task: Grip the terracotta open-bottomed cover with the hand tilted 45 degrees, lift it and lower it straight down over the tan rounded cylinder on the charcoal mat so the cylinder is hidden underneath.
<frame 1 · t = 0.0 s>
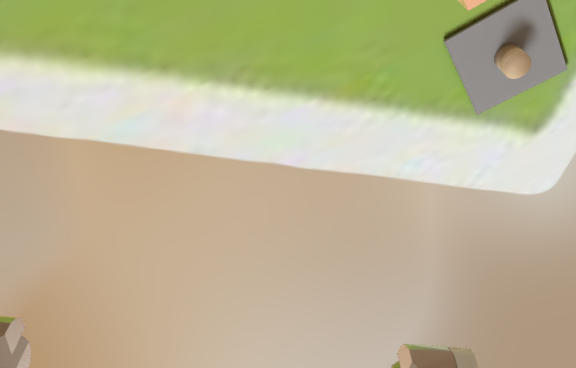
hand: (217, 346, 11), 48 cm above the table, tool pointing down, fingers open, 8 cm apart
mat: (505, 54, 57), on the table
tan rounded cylinder: (507, 55, 56), resting on mat
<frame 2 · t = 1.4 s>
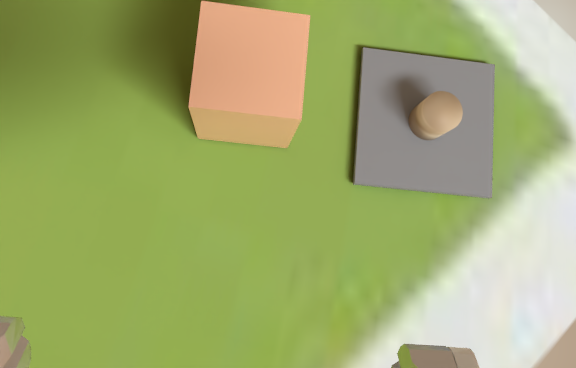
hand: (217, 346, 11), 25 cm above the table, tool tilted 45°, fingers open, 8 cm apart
mat: (424, 123, 39), on the table
tan rounded cylinder: (427, 121, 39), resting on mat
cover: (247, 100, 38), on the table
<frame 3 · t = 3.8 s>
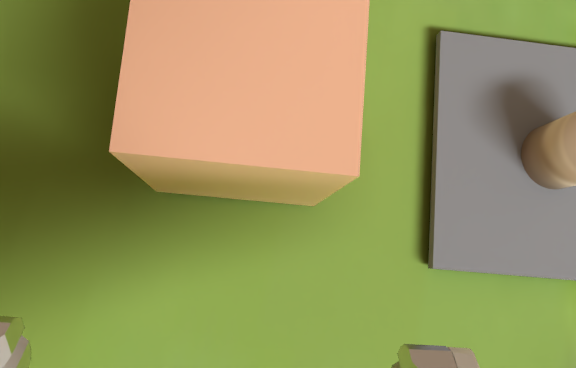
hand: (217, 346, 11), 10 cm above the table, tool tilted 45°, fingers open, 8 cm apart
mat: (545, 159, 23), on the table
tan rounded cylinder: (551, 157, 22), resting on mat
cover: (243, 123, 22), on the table
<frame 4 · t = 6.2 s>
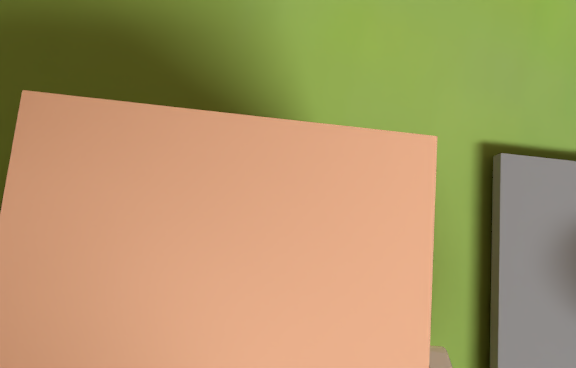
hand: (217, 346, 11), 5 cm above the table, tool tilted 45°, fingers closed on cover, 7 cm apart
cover: (226, 292, 15), on the table, touching gripper
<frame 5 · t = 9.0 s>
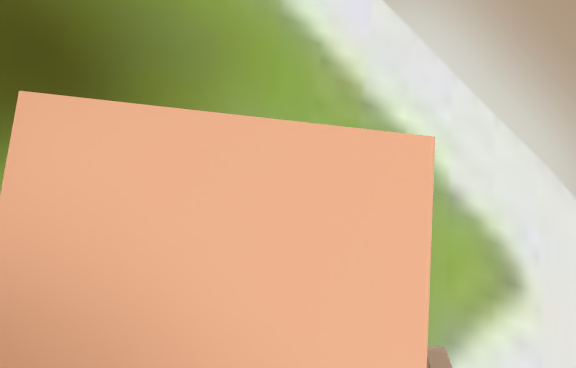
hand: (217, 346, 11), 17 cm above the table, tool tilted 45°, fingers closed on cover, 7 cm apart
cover: (224, 292, 15), point 13 cm above the table, touching gripper
when the fingers open (6 cm above the table, at t = 11.9 s): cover drops 1 cm, resting on mat.
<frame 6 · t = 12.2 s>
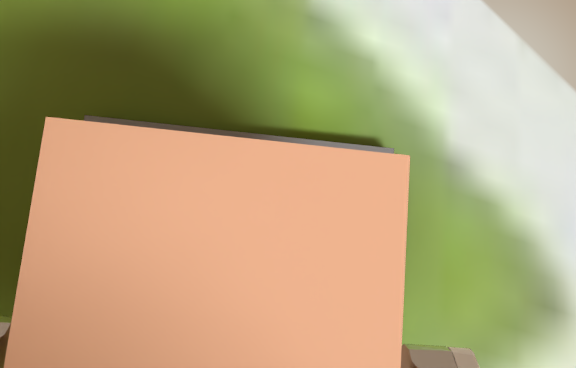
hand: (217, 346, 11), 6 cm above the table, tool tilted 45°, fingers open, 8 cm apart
mat: (227, 288, 17), on the table
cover: (225, 292, 16), resting on mat
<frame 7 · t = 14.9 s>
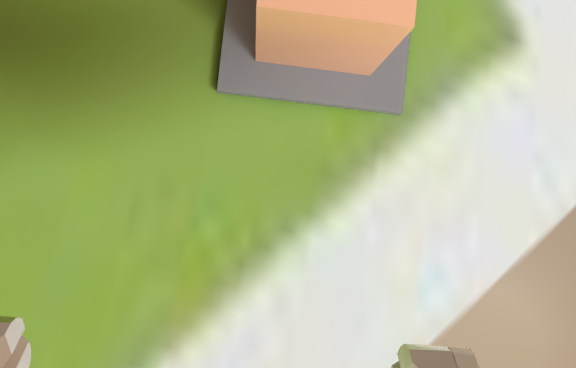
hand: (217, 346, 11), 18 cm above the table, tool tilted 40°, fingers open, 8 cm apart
mat: (319, 13, 29), on the table
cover: (319, 11, 29), resting on mat
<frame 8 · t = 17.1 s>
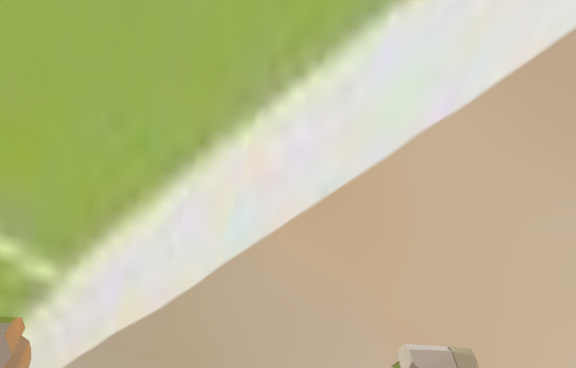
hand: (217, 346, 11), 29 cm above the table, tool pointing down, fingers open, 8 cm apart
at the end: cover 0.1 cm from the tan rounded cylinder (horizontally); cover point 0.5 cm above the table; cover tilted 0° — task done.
